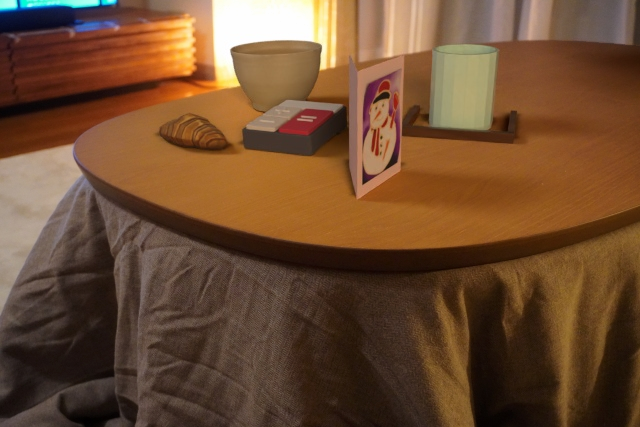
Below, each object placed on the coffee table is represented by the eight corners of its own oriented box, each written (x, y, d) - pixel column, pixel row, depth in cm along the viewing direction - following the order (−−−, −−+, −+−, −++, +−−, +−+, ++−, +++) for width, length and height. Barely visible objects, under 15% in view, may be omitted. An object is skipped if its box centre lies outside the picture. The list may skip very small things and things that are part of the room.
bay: (413, 113, 107) (414, 104, 107) (516, 119, 102) (517, 110, 102) (398, 135, 96) (399, 126, 95) (513, 143, 91) (514, 133, 90)
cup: (505, 128, 98) (513, 51, 93) (450, 136, 95) (455, 57, 90) (468, 113, 106) (474, 42, 101) (417, 120, 103) (420, 47, 98)
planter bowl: (311, 94, 122) (310, 37, 118) (332, 114, 108) (332, 50, 103) (230, 100, 119) (225, 42, 114) (240, 122, 104) (235, 56, 100)
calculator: (240, 124, 90) (285, 96, 102) (243, 152, 92) (286, 121, 104) (309, 131, 86) (347, 101, 98) (311, 160, 88) (348, 127, 100)
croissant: (145, 143, 95) (140, 111, 93) (178, 132, 100) (174, 102, 98) (208, 159, 87) (205, 124, 85) (241, 146, 92) (238, 113, 90)
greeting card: (363, 201, 72) (364, 72, 66) (310, 189, 76) (307, 66, 70) (406, 171, 81) (410, 55, 75) (356, 162, 85) (357, 50, 79)
